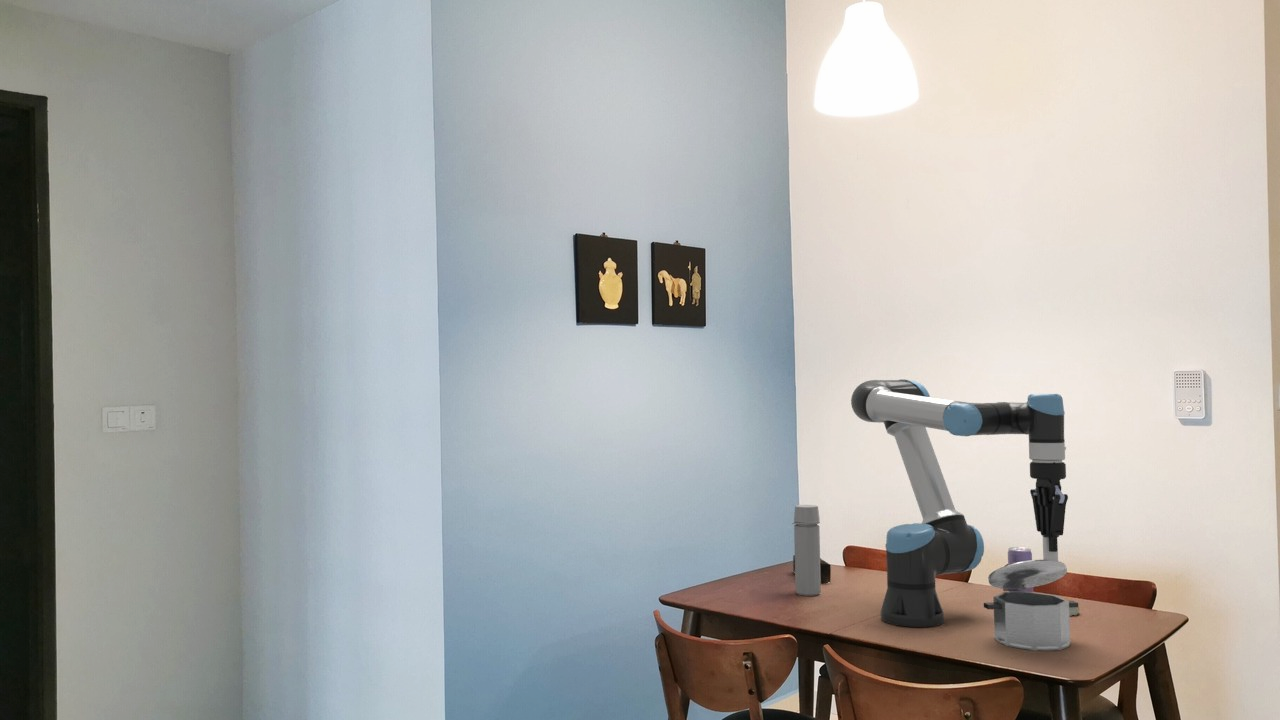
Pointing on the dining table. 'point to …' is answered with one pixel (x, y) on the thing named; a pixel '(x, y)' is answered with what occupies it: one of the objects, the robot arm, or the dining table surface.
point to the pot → (1031, 620)
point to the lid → (1027, 574)
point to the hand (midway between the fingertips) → (1050, 565)
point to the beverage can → (1019, 559)
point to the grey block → (1073, 610)
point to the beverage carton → (821, 570)
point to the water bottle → (807, 550)
